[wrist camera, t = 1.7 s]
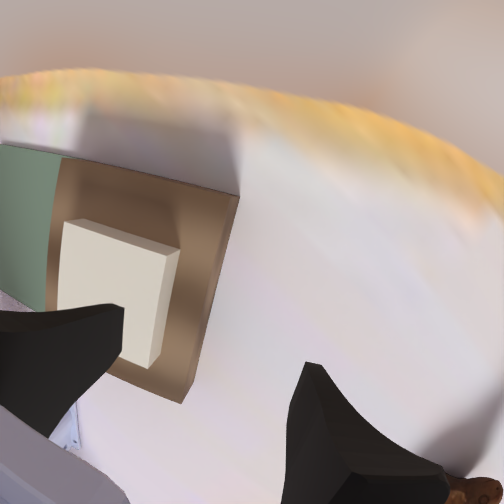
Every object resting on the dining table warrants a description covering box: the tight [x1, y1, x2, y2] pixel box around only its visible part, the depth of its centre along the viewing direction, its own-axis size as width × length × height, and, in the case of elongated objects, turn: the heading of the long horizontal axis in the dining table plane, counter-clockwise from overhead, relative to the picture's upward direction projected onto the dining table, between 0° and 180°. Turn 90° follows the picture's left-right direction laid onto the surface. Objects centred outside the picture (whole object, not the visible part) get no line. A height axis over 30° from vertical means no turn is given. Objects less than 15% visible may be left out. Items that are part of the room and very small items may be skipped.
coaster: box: [57, 218, 181, 369], centre depth 17 cm, size 7×7×2 cm
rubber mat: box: [0, 144, 84, 312], centre depth 22 cm, size 14×12×1 cm
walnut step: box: [45, 157, 240, 404], centre depth 20 cm, size 14×12×3 cm
